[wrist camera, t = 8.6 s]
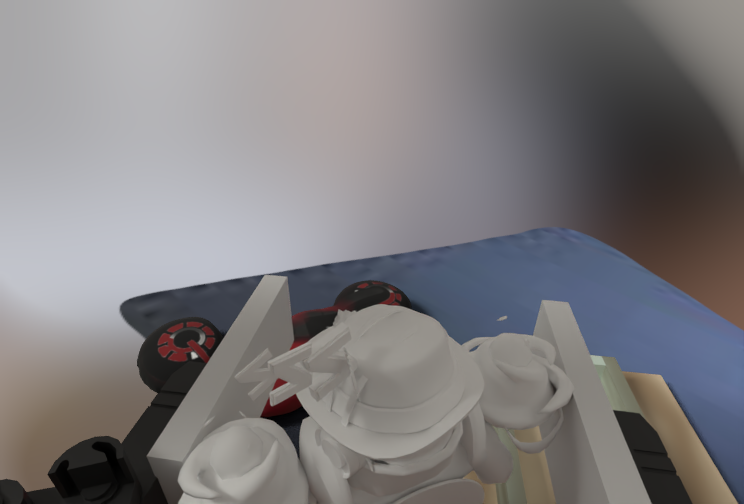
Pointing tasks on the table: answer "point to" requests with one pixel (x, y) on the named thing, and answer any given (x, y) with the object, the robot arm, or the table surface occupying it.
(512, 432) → the jig board
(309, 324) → the toy motorcycle
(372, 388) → the hat wearing toy figure
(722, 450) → the table surface
